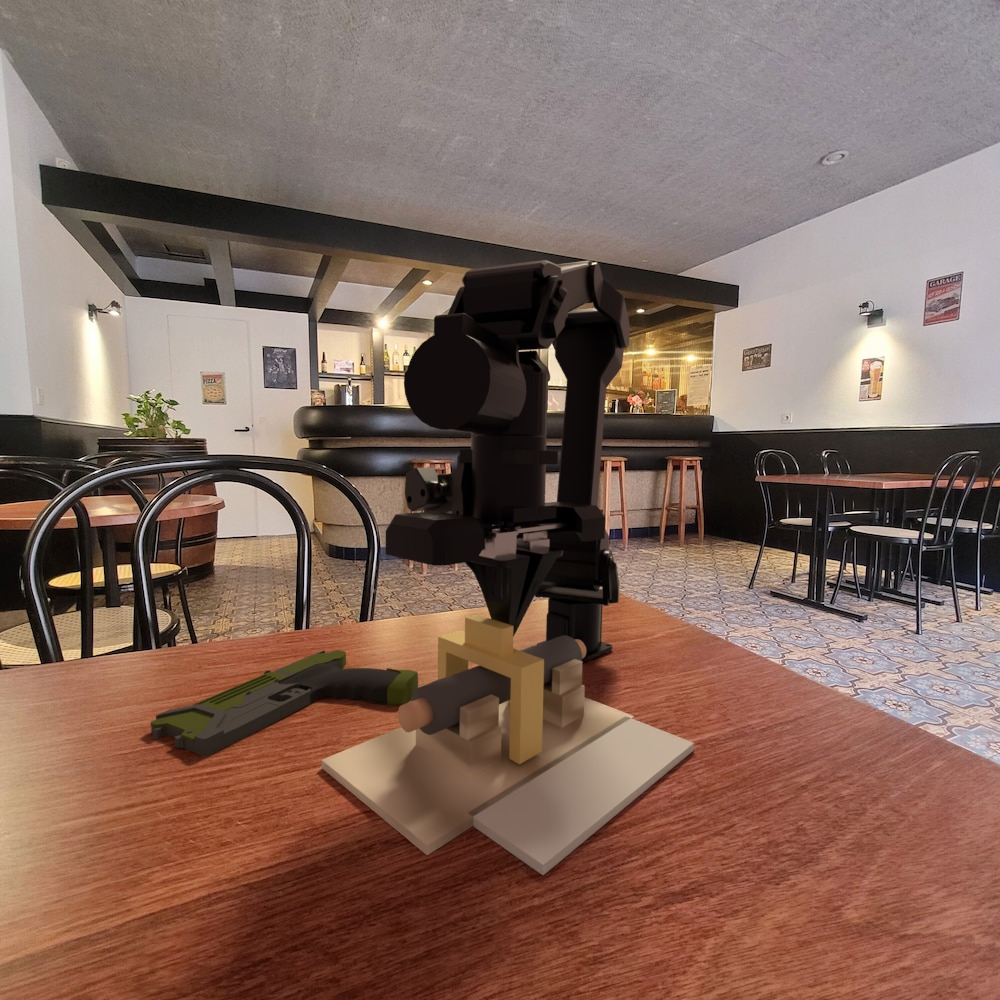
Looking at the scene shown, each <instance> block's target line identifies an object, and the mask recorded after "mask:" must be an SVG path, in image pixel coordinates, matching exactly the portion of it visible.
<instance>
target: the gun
mask: <svg viewBox="0 0 1000 1000" xmlns="http://www.w3.org/2000/svg"><path fill="white" fill-rule="evenodd" d="M346 665H347V652H346V651H344V650H341V649H340V650H339V649H337V650H332V651H330V652H326V650H321V651H319V652H316V653H314V654H312V655H309V656H307V657H304V658H302V659H299V660H297V661H294V662H291V663H290V664H287V665H285V666H283V667H280V668H277V669H274V671H271V670H265V671H264V672H263V674H262V675H260V676H257V677H254V678H252V679H250V680H247V681H245V682H243V683H240V684H238V685H235V686H233V687H230V688H229V689H228V688H227V689H226V690H224V691H221V692H219V693H216V694H214V695H212V696H210V697H207V698H204V699H203V700H200V701H198V702H196V703H193V704H191V705H186V706H181V707H177V708H172V709H168V710H165V711H163V712H160V713H158V714H156V715H155V719H154V720H151V721H150V729H151V730H150V731H151V735H152V737H153V739H156V740H159V739H161V738H163V737H164V736H168V737H171V738H173V739H174V747H175V748H177V749H183V750H187V751H189V752H192V753H195V754H196V755H199V756H202V757H209V756H211V755H213V754H215V753H217V752H218V751H221V750H223V749H225V748H228V747H230V746H232V745H234V744H235V743H238V742H239V741H241V740H243V739H246V738H247V737H249V736H251V735H253V734H255V733H257V732H259V731H261V730H263V729H265V728H267V727H269V726H271V725H273V724H275V723H276V722H278V721H280V720H283V718H286V717H287V716H289V715H291V714H294V713H295V712H298V711H300V710H301V709H304V707H307V706H309V705H311V704H313V702H316V700H319V699H325V698H326V699H328V698H329V699H330V698H331V699H337V700H345V699H346V700H347V699H348V700H356V701H357V700H360V701H361V700H362V701H367V702H370V703H373V704H380V705H381V704H382V705H388V706H401V705H403V704H406V703H409V702H411V697H412V694H413V692H414V690H415V689H417V688H418V687H419V674H418V673H419V672H418V671H416V670H411V669H394V668H386V669H381V668H370V667H368V668H367V667H348V668H345V666H346Z"/></svg>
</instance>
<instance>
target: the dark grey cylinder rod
mask: <svg viewBox="0 0 1000 1000" xmlns="http://www.w3.org/2000/svg"><path fill="white" fill-rule="evenodd" d="M545 641H546V640H545ZM542 642H543V641H542ZM539 643H540V642H539ZM531 646H532V647H530V646H528V647H529V648H528V647H525V648H526V649H525V648H523V649H524V650H522V649H520V650H521V651H522V652H525V653H527V654H530V655H533V656H536V657H539V658H542V659H544V684H546V683H549V682H551V681H552V669H553V668H555V667H557V666H559V665H562V664H564V663H567V662H569V661H571V660H574V659H576V660H579V661H582V658H584V657H585V655H586V647H585V645H584V643H583V642H582V641H581V640H579V639H575V640H574V639H573V638H572V637H570V636H566V635H563V636H560V637H557V638H554V639H551V640H549V641H546V642H543V643H540V644H538V645H537V644H535V645H534V646H533V645H531ZM437 680H438V679H437ZM434 681H435V682H433V681H431V682H432V683H430V682H429V683H430V684H428V683H426V684H427V685H425V684H423V685H424V686H422V685H420V686H421V687H419V686H418V687H419V688H417V689H415V690H414V692H413V694H412V697H411V700H410V701H409V702H408V703H406V704H403V705H399V708H398V710H397V718H398V722H399V725H400V727H402V728H403V730H404V731H406V732H412V731H414V730H416V729H420V730H421V731H422V732H424V733H425V734H428V735H432V734H435V733H437V732H439V731H441V730H444V729H446V728H448V727H450V726H452V725H455V724H457V723H459V722H460V707H462V706H465V705H467V704H469V703H472V702H474V701H476V700H479V699H481V698H484V697H486V696H488V695H491V694H492V695H494V696H496V697H498V698H499V704H502V703H504V702H506V701H508V700H510V696H511V678H509V677H507V676H504V675H502V674H500V673H497V672H495V671H492V670H490V669H487V668H485V667H482V666H480V665H477V666H474V667H471V668H468V670H466V671H463V672H460V673H457V674H455V675H452V676H449V677H446V678H443V679H441V680H438V681H436V680H434Z"/></svg>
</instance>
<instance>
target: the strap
mask: <svg viewBox="0 0 1000 1000" xmlns="http://www.w3.org/2000/svg"><path fill="white" fill-rule="evenodd" d="M469 662H470V663H473V664H475V665H477V666H479V665H480V666H482V667H485V668H487V669H490V670H492V671H495V672H497V673H500V674H502V675H504V676H507V677H509V678H511V696H510V747H509V759H511V760H513V761H515V762H516V763H518V764H521V763H523V762H525V761H526V760H528V759H530V758H531V757H533V756H535V755H537V754H538V753H540V752H542V726H543V685H544V659H542V658H539V657H536V656H533V655H530V654H527V653H525V652H522V651H519V650H518V649H516V648H514V637H513V626H512V625H509V624H506V623H503V622H499V621H496V620H493V619H491V617H490V618H489V617H486V616H483V615H481V614H472V615H468V616H464V630H462V629H459V630H456V631H453V632H450V633H446V634H442V635H439V636H437V680H439V679H442V678H444V677H447V676H452V675H455V674H457V673H460V672H463V671H466V670H468V669H469Z"/></svg>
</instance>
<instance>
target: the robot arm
mask: <svg viewBox="0 0 1000 1000" xmlns="http://www.w3.org/2000/svg"><path fill="white" fill-rule="evenodd" d="M600 266H601V265H600V263H599V262H593V261H592V260H584V261H576V262H575V261H574V262H568V263H567V262H566V263H558V264H557V263H554V262H551V261H549V260H547V259H546V260H545V259H544V260H536V261H527V262H518V263H510V264H504V265H503V264H502V265H495V266H487V267H479V268H471V269H469V270H467V271H466V272H465V274H464V276H463V277H462V279H461V281H462V284H463V285H462V286H460V287H459V288H458V290H457V292H456V293H455V294H456V295H455V297H454V299H453V301H452V303H451V305H450V308H449V311H448V313H447V314H437V315H435V316H434V317H433V335H431V336H430V337H428V338H427V339H426V340H424V341H423V342H422V343H421V344H420V346H418V348H417V349H416V350H415V351H414V353H413V354H412V356H411V359H410V360H409V363H408V367H407V369H406V371H405V372H404V375H403V388H404V395H405V397H406V401H407V404H408V406H409V408H410V410H411V411H412V413H413V414H414V415H415V417H416V418H417V419H418V420H420V422H422V423H424V424H425V425H427V426H429V427H430V428H434V429H438V430H443V431H453V432H454V431H455V432H463V433H470V434H471V436H470V449H468V448H467V449H465V448H464V449H463V448H462V449H461V448H460V449H459V454H458V455H457V459H456V461H457V462H456V465H457V466H456V470H454V471H453V472H450V473H439V474H438V473H437V471H436V470H435V468H433V467H415V468H412V469H411V470H409V471H406V472H405V482H404V483H405V485H404V486H405V487H404V497H405V502H406V507H407V509H408V510H409V511H411V512H410V513H408V512H407V513H396V514H394V516H393V517H392V519H391V521H390V522H389V524H388V526H387V528H386V529H385V555H387V556H391V557H395V558H400V559H404V560H409V561H412V562H417V563H421V564H424V565H428V566H429V565H430V566H435V567H436V566H439V567H440V566H443V567H444V566H445V567H446V566H452V565H457V564H462V563H465V565H466V566H467V567H468V569H470V570H471V571H472V573H473V574H474V576H475V579H476V581H477V583H478V585H479V588H480V590H481V594H482V596H483V599H484V603H485V605H486V608H487V611H488V614H489V616H490V619H493V620H496V621H499V622H503V623H506V624H509V625H512V626H513V638H514V637H515V635H516V633H517V631H518V630H519V628H520V625H521V623H522V622H523V619H524V617H525V615H526V613H527V611H528V610H529V607H530V606H531V604H532V601H533V600H534V598H545V599H547V598H548V599H547V602H548V603H547V613H546V618H545V619H546V629H545V640H543V641H541V642H538V643H537V644H536V645H538V644H540V643H543V642H546V641H549V640H551V639H554V638H557V637H560V636H563V635H566V636H570V637H572V638H573V639H574V640H575V639H579V640H581V641H582V642H583V643H584V645H585V647H586V655H585V657H584V658H582V663H585V662H587V661H589V660H592V659H594V658H596V657H599V656H601V655H603V654H605V653H608V652H610V651H612V650H613V644H610V643H609V642H608V643H607V642H603V641H602V638H603V637H602V634H603V606H605V607H608V606H610V604H618V603H619V601H620V581H619V573H618V572H619V571H618V565H617V563H616V561H615V560H614V555H613V551H612V550H611V549H610V536H609V534H608V532H607V529H606V516H605V514H604V513H603V512H602V511H601V509H600V508H599V507H598V501H599V491H600V490H599V488H600V477H601V473H600V472H601V461H602V450H603V436H604V426H605V425H604V422H605V421H604V420H605V410H606V397H607V388H608V386H609V385H610V384H611V382H612V381H613V380H614V379H615V377H616V375H618V373H619V371H620V370H621V369H622V366H623V360H624V359H623V358H624V351H625V348H628V347H629V345H630V337H631V336H630V335H631V334H630V320H629V315H628V314H629V313H628V309H627V306H626V305H627V304H626V302H625V297H624V295H623V294H622V293H620V292H619V291H618V290H617V289H616V288H614V287H613V286H612V285H611V284H609V282H608V281H606V280H605V279H604V277H603V273H602V269H601V267H600ZM586 304H593V308H592V307H591V308H581V309H579V307H581V306H584V305H586ZM577 308H578V309H577ZM551 346H552V348H554V357H555V359H556V362H557V363H558V365H559V367H560V369H561V371H562V373H563V375H564V377H565V379H566V386H565V388H566V389H565V390H566V391H565V401H564V412H563V425H562V435H561V446H560V447H561V449H560V459H559V451H558V450H547V434H548V433H547V429H548V427H547V425H548V395H549V394H548V389H549V388H548V387H549V386H548V385H549V383H548V382H550V381H551V373H550V370H549V368H548V366H547V365H545V363H543V361H542V359H541V358H540V355H539V353H538V351H537V350H547V349H548V350H549V348H550V347H551ZM558 460H560V461H559V462H558ZM558 464H559V470H558V471H559V472H558V481H557V482H558V484H557V493H556V494H557V496H556V501H551V502H546V479H547V478H546V474H547V471H546V470H547V468H546V467H547V465H558ZM601 588H602V589H601Z"/></svg>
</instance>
